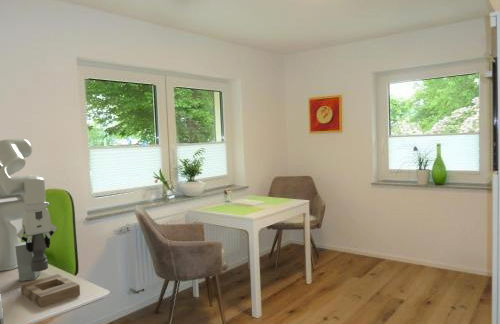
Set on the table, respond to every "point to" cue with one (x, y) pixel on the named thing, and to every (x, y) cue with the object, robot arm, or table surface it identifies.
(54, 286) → the holder board
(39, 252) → the candle holder
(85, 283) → the table surface
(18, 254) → the skincare box
